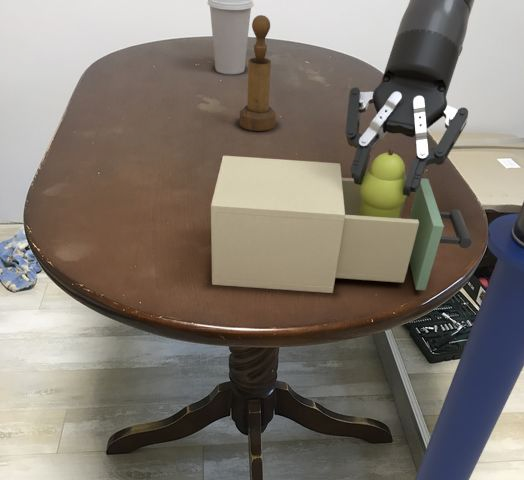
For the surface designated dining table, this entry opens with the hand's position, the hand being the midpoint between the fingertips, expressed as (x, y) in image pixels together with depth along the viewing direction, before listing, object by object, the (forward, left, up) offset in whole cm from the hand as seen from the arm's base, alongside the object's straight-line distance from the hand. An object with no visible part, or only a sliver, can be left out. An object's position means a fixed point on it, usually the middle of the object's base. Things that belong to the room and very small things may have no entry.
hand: (381, 187), depth 67 cm
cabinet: (+12, -2, -12) cm, 17 cm away
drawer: (-2, -2, -11) cm, 11 cm away
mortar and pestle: (+17, -46, -12) cm, 50 cm away
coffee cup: (+25, -76, -12) cm, 81 cm away
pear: (-1, -2, -4) cm, 5 cm away
